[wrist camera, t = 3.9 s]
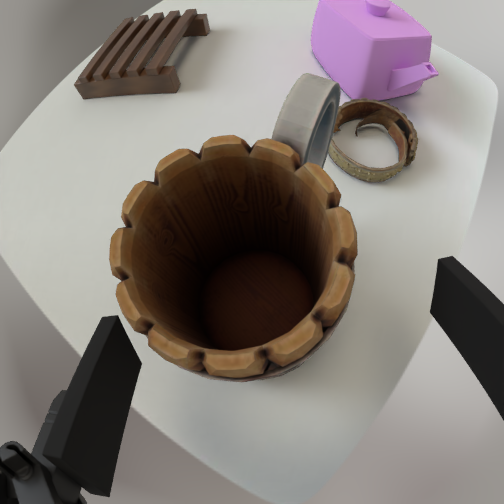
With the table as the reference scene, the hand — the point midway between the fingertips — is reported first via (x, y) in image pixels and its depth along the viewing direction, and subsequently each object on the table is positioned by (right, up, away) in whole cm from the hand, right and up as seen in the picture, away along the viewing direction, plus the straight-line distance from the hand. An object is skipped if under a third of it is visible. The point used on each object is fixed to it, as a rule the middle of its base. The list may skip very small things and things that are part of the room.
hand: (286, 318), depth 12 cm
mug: (0, 0, +13) cm, 13 cm away
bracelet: (+10, +12, +16) cm, 22 cm away
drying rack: (-15, +28, +23) cm, 39 cm away
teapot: (+12, +24, +19) cm, 33 cm away
